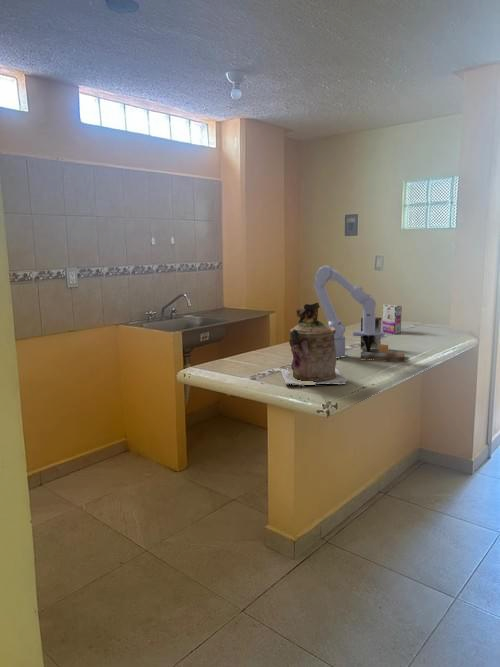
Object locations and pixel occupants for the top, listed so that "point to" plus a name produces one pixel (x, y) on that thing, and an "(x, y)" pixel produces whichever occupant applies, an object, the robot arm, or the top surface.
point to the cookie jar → (312, 350)
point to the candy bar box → (392, 319)
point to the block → (383, 348)
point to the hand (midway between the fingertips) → (368, 351)
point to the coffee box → (376, 339)
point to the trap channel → (382, 355)
